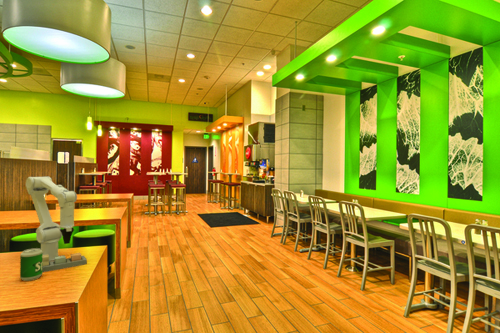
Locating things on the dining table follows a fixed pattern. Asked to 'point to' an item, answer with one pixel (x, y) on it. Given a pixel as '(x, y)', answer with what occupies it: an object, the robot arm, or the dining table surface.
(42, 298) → the dining table surface
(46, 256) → the maple key
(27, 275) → the soda can
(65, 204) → the robot arm
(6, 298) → the dining table surface
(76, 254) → the orange brown cube
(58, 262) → the pale green cube
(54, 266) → the button board
